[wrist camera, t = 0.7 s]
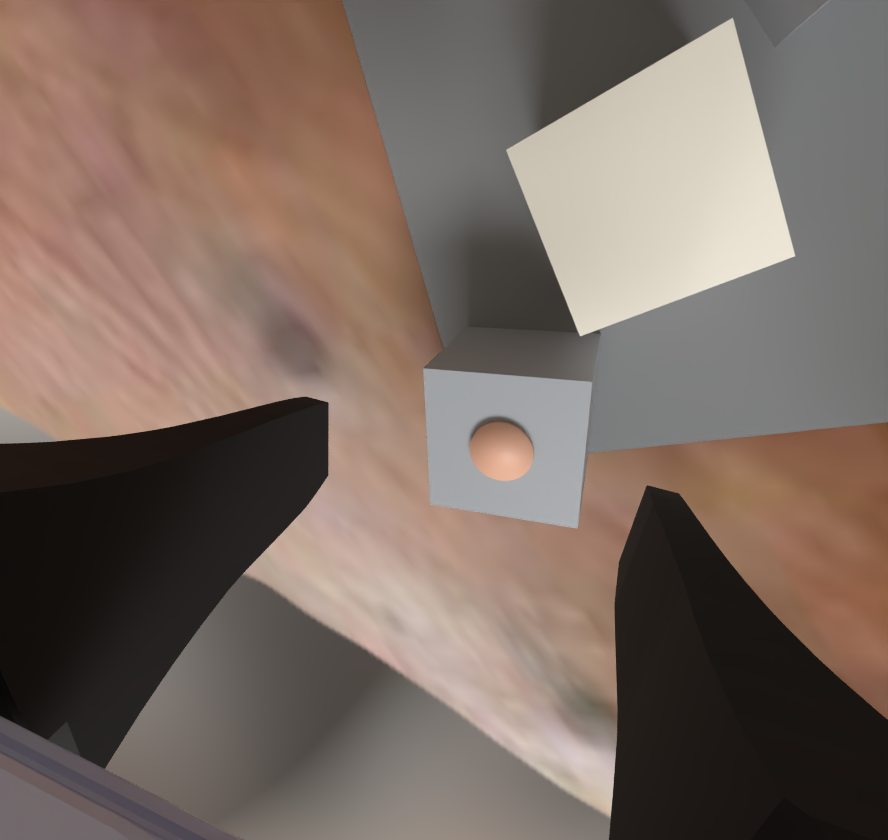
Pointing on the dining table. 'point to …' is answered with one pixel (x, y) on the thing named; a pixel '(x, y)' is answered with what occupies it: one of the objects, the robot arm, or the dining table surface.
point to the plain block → (656, 186)
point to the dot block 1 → (511, 422)
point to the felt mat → (696, 316)
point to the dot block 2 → (783, 15)
